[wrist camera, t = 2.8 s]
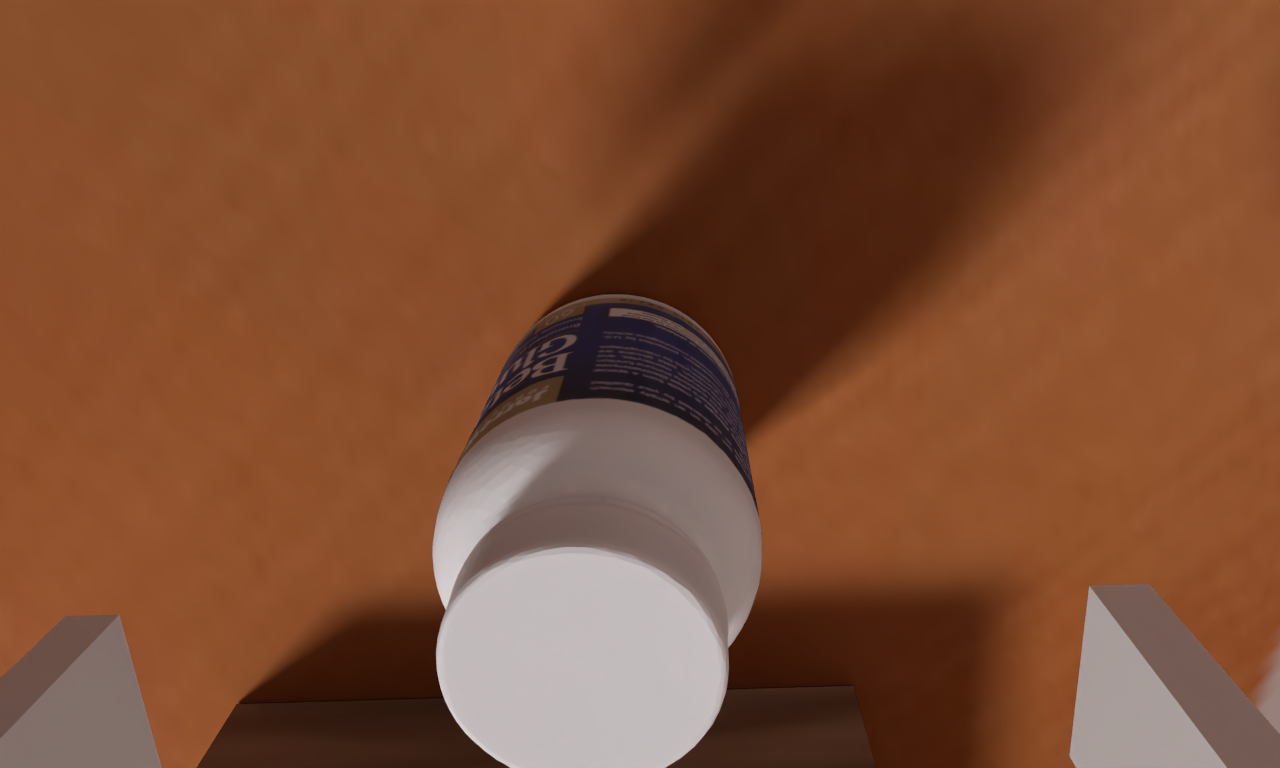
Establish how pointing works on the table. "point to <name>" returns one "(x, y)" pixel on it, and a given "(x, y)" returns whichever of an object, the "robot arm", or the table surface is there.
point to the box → (454, 764)
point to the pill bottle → (598, 543)
